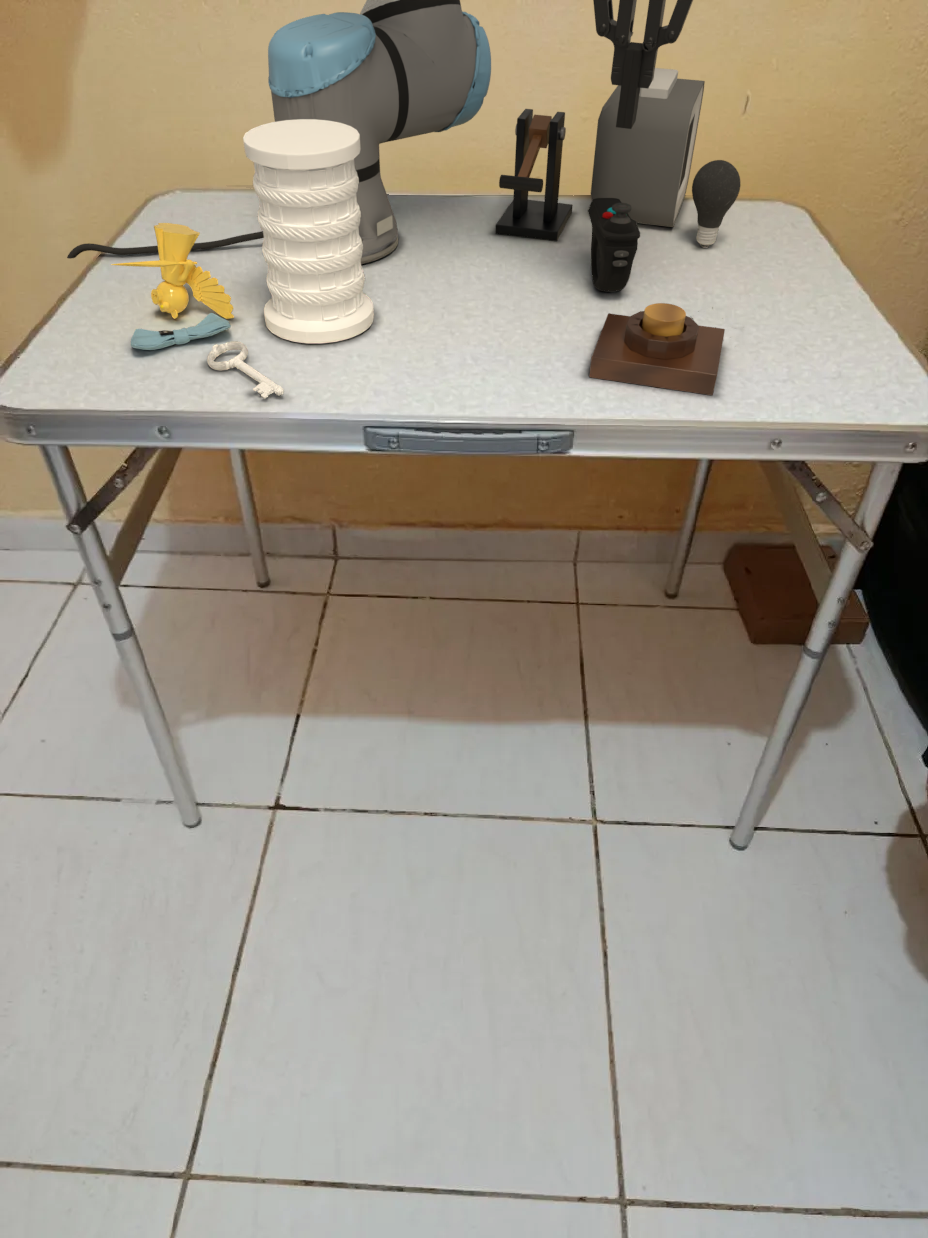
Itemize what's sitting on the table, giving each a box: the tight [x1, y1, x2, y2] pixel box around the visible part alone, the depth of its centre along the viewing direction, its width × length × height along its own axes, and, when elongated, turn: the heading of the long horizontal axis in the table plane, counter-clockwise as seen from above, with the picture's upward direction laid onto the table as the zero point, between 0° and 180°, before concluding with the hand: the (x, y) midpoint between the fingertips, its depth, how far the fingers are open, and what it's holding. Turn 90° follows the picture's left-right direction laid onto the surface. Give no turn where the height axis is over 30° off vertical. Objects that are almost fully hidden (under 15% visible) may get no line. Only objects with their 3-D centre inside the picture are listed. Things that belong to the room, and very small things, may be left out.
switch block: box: [588, 310, 726, 396], centre depth 91 cm, size 12×10×4 cm
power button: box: [642, 302, 687, 336], centre depth 89 cm, size 4×4×2 cm
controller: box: [587, 198, 641, 293], centre depth 103 cm, size 4×12×10 cm, turn 3°
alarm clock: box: [590, 67, 706, 228], centre depth 119 cm, size 16×11×16 cm
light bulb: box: [691, 159, 741, 249], centre depth 111 cm, size 6×6×10 cm
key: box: [206, 340, 285, 399], centre depth 89 cm, size 12×1×4 cm
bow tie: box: [130, 312, 232, 351], centre depth 94 cm, size 10×2×5 cm
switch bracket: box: [494, 108, 573, 242], centre depth 115 cm, size 10×8×13 cm
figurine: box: [110, 222, 235, 320], centre depth 95 cm, size 12×12×9 cm
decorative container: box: [242, 119, 375, 344], centre depth 92 cm, size 12×12×18 cm
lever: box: [498, 114, 553, 193], centre depth 110 cm, size 12×5×2 cm, turn 164°
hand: (625, 123), depth 88 cm, fingers closed
